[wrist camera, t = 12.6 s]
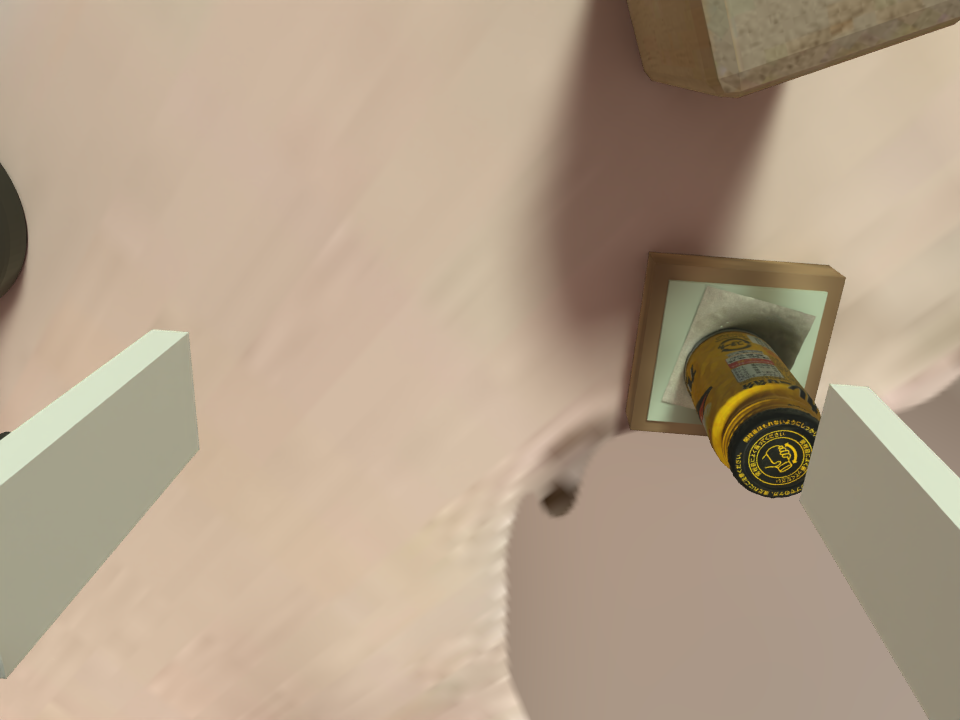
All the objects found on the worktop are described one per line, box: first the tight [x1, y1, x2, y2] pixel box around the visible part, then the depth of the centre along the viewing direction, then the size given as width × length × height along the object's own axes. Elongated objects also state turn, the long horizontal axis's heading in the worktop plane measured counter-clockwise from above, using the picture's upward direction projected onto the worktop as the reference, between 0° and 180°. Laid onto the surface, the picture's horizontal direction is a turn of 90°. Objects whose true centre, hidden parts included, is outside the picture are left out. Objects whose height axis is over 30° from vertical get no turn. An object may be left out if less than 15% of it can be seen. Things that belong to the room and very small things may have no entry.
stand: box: [626, 252, 846, 436], centre depth 52 cm, size 12×12×3 cm
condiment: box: [662, 286, 821, 498], centre depth 45 cm, size 7×8×12 cm
